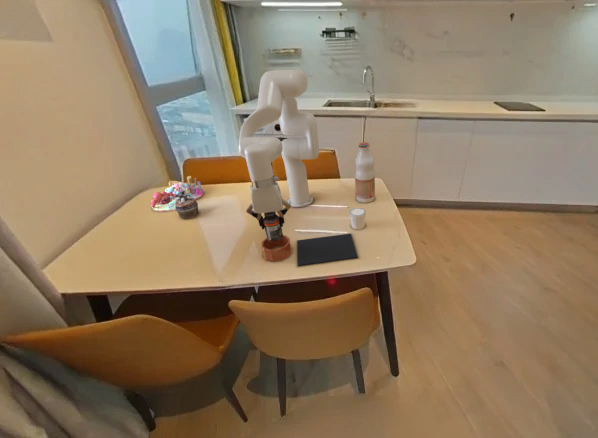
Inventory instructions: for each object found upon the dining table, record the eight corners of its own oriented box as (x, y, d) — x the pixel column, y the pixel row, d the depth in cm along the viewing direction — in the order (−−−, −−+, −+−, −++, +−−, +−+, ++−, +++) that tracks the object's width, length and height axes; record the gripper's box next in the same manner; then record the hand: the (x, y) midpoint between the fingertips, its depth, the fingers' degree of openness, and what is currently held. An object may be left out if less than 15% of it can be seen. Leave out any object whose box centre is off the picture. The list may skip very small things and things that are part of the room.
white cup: (364, 230, 132) (364, 216, 129) (348, 229, 134) (347, 215, 130) (367, 222, 138) (367, 208, 134) (352, 221, 139) (351, 207, 136)
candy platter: (157, 194, 171) (151, 178, 166) (204, 185, 178) (199, 170, 173) (150, 215, 151) (143, 197, 146) (203, 204, 158) (198, 188, 153)
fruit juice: (361, 204, 152) (359, 148, 137) (352, 197, 159) (350, 142, 145) (378, 200, 155) (378, 144, 141) (369, 193, 163) (368, 139, 148)
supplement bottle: (268, 234, 121) (262, 208, 115) (284, 233, 121) (279, 207, 115) (266, 243, 116) (259, 217, 110) (282, 242, 116) (277, 216, 110)
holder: (264, 246, 125) (262, 236, 122) (291, 243, 126) (289, 233, 124) (262, 263, 116) (260, 252, 114) (291, 259, 117) (289, 248, 115)
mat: (297, 241, 127) (297, 240, 127) (351, 234, 130) (351, 233, 130) (297, 266, 114) (297, 265, 113) (357, 258, 117) (357, 256, 116)
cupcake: (173, 218, 147) (166, 199, 142) (190, 208, 155) (183, 190, 150) (189, 221, 144) (182, 202, 139) (205, 211, 152) (199, 192, 147)
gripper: (289, 174, 110) (296, 217, 120) (238, 179, 108) (249, 223, 118) (289, 183, 104) (296, 228, 114) (234, 189, 102) (247, 235, 111)
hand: (272, 225), depth 115 cm, fingers closed on supplement bottle, 6 cm apart
